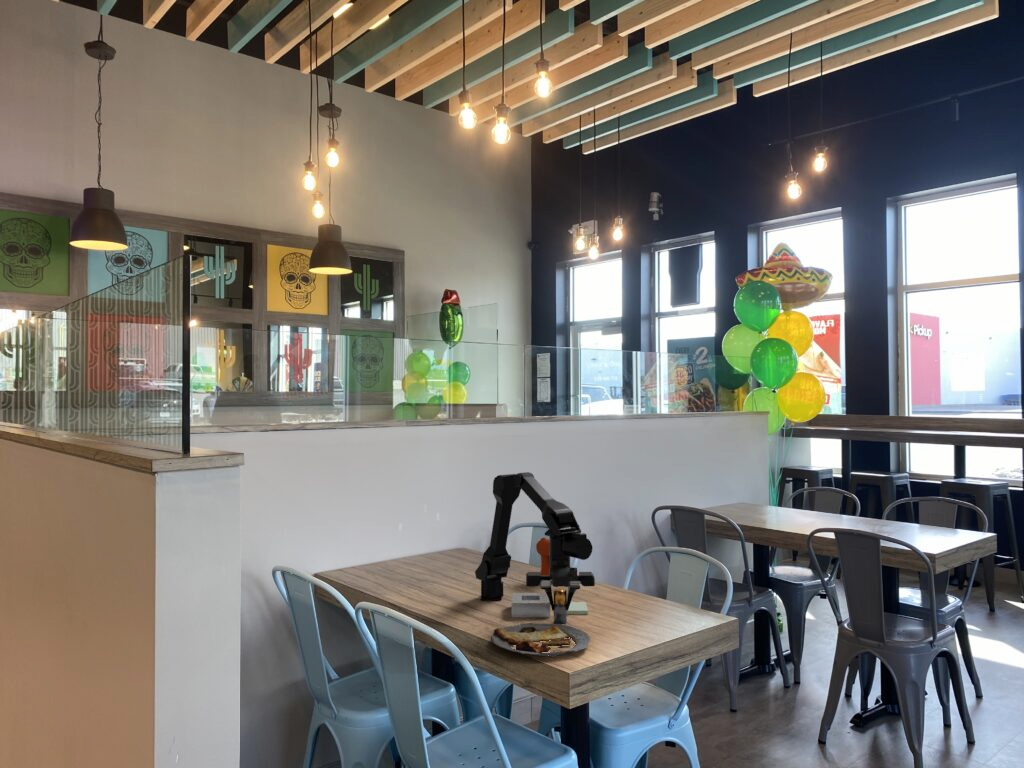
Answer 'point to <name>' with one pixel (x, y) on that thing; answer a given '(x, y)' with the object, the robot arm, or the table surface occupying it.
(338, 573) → the table surface
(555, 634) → the food plate
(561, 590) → the gold and grey cylinder
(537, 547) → the toy drill
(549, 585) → the robot arm
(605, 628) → the table surface
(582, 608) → the green mat
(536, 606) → the block
